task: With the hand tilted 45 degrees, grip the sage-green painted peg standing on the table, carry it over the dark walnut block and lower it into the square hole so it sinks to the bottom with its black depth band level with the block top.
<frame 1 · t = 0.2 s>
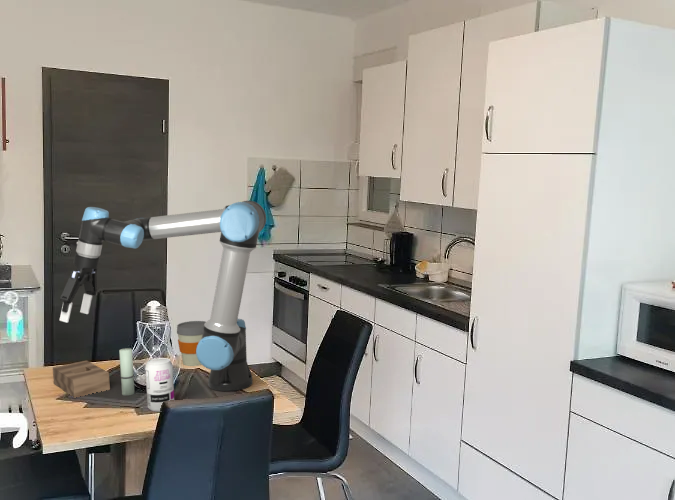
hand: (74, 317, 222), 27 cm above the table, tool tilted 15°, fingers open, 13 cm apart
socket block: (81, 386, 235), on the table
supplement can: (161, 408, 214), on the table
reusable coffee cup: (195, 363, 261), on the table
peg: (128, 393, 227), on the table
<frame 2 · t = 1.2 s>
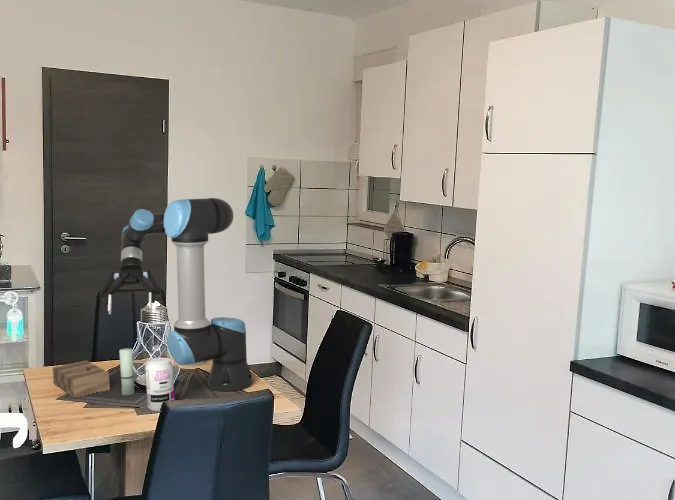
hand: (130, 311, 235), 26 cm above the table, tool tilted 45°, fingers open, 13 cm apart
nothing on the table moved.
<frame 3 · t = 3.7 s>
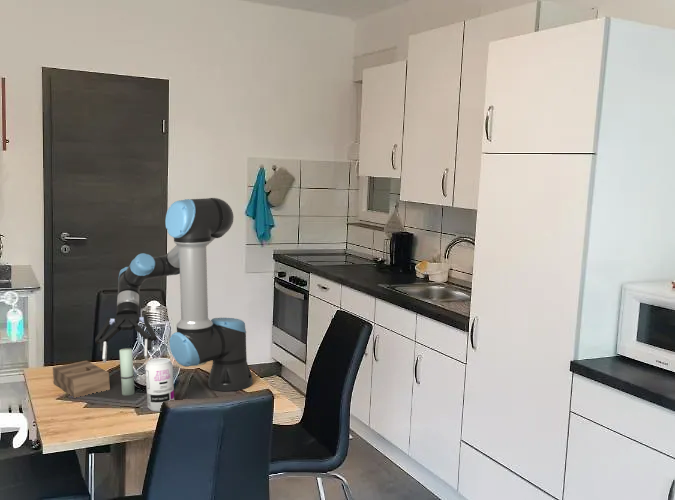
hand: (125, 359, 229), 11 cm above the table, tool tilted 45°, fingers open, 13 cm apart
nothing on the table moved.
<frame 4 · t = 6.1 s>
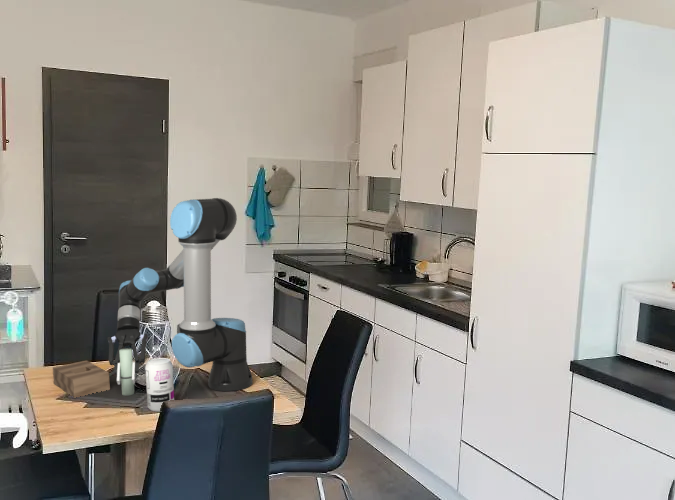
hand: (126, 381, 223), 5 cm above the table, tool tilted 45°, fingers closed on peg, 4 cm apart
peg: (128, 393, 227), on the table, touching gripper
everything else where it was.
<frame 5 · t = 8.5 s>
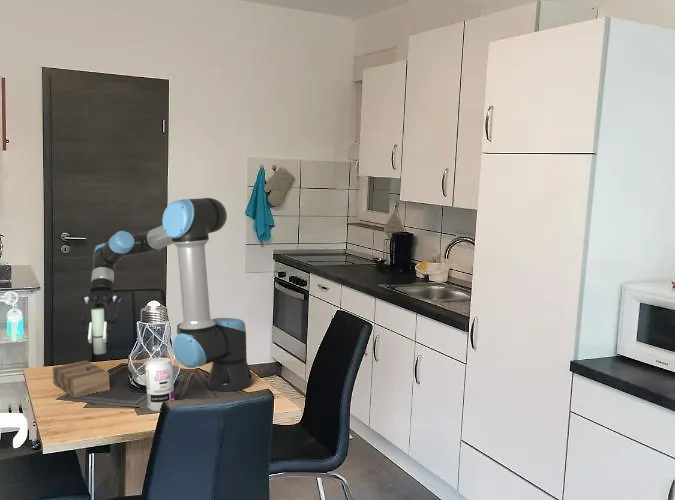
hand: (97, 340, 226), 18 cm above the table, tool tilted 45°, fingers closed on peg, 4 cm apart
peg: (100, 352, 231), point 13 cm above the table, touching gripper
everything else where it was.
when the fingers open (9 cm above the table, at t = 11.2 s): peg drops 3 cm, resting on socket block.
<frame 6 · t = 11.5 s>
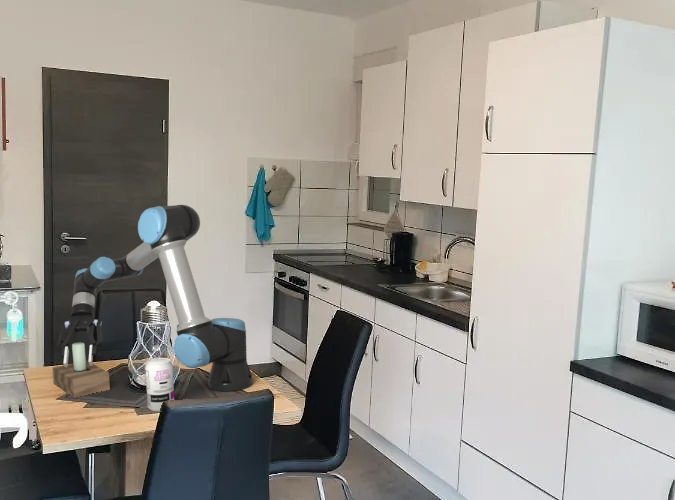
hand: (77, 364, 230), 9 cm above the table, tool tilted 45°, fingers open, 7 cm apart
peg: (81, 385, 235), resting on socket block
everything else where it was.
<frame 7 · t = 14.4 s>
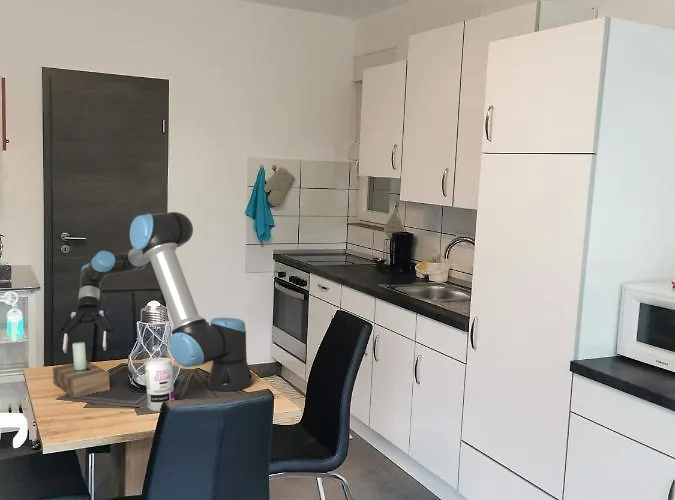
hand: (84, 350, 244), 10 cm above the table, tool tilted 45°, fingers open, 13 cm apart
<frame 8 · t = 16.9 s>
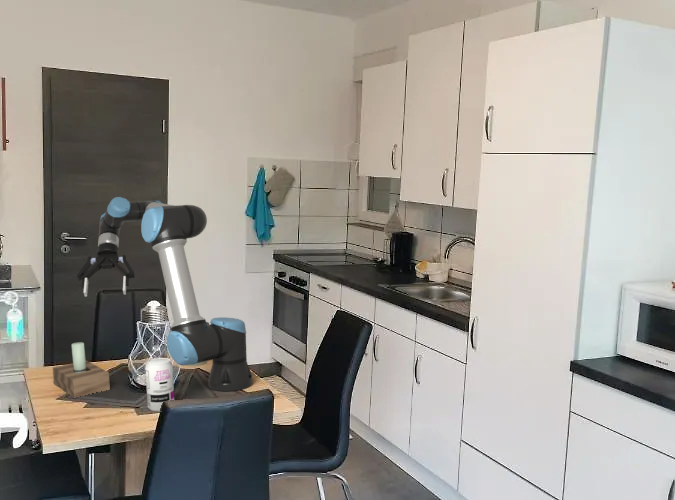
hand: (104, 293, 247), 30 cm above the table, tool tilted 45°, fingers open, 13 cm apart
nothing on the table moved.
at the end: peg 0.1 cm off-centre on the socket block, point 0.3 cm above the socket block's base; peg tilted 1°; the gripper is holding nothing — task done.
